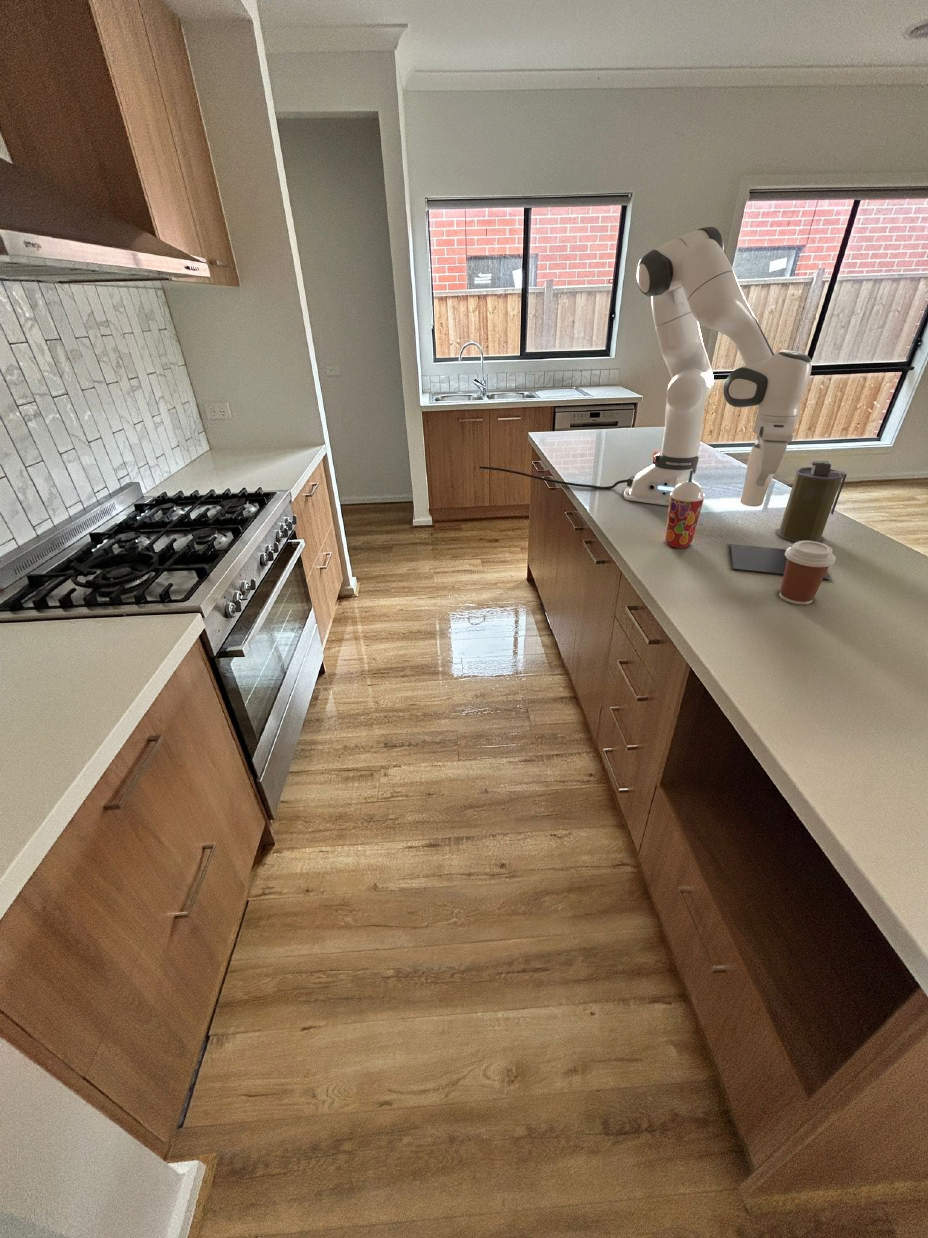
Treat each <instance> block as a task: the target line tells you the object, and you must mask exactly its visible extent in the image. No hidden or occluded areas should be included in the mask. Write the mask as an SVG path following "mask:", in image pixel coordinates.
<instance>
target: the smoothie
mask: <svg viewBox="0 0 928 1238" xmlns="http://www.w3.org/2000/svg"><path fill="white" fill-rule="evenodd" d="M692 474H693V470H690V476H689V481H684V482H681V483H679V484H678V485H677V486H676V487H675V488H674V489H673V491H672V492H671V493H670V500H669V506H668V510H667V511H668V512H667V519H666V527H665V528H666V529H665V537H664V538H665V540H666V544H667V545H668V546H670V547H672V548H676V549H682V548H683V549H685V548H687V547H689V546H690V544H691V543H692V542H693V540H694V537H695V533H696V528H697V525H698V522H699V518H700V515H701V511H702V508H703V503H704V501H705V498H706V496H705V493H704V491H703V488H702V486H701V485H700V484H699V483H698V482H696V481H695V480H694V481H691V480H692Z"/></svg>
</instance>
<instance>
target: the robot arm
mask: <svg viewBox="0 0 928 1238" xmlns="http://www.w3.org/2000/svg"><path fill="white" fill-rule="evenodd" d="M723 239H724V238H723V236H722V234H721V232H720V230H719V229H718V228H717V227H715V226H705V227H704V226H703V227H701V228H698V229H697V230H695V231H691V232H688V233H685V234H682V235H679V236H677V237H675V238H674V239H672V240H670V241H668V242H666V243H664V244H663V245H660V246H659V247H658V248H656V249H651V250H650V251H648V252H647V253H645V254H644V255H643V256H642V257H641V258H640V259H639V261H638V264H637V267H636V272H635V273H636V274H635V276H636V282H637V283H636V284H637V287H638V289H639V291H640V292H641V293H642V294H643V295H644V296H646V297H649V298H651V311H652V318H653V324H654V328H655V333H656V336H657V341H658V346H659V349H660V354H661V357H662V359H663V360H664V363H665V365H666V367H667V371H668V373H669V376H670V378H671V380H670V382H669V383H668V386H667V389H666V399H665V413H664V430H663V436H662V437H663V438H662V444H661V451H658V450H654V451H653V453H652V464H650V465H648V466H647V467H646V468H644V469H642V470H640V471H639V472H637V474H636V475H631V476H629V477H628V478H627V479H621V480H618V481H616V482H615V483H613V484H612V485H609V486H599V485H593V484H584V483H583V484H582V483H575V482H569V481H563V480H558V479H552V478H547V477H542V476H538V475H535V474H531V473H526V472H522V471H517V470H513V469H512V470H511V469H508V468H501V467H494V466H482V465H479V467H478V468H479V469H482V470H490V471H491V470H492V471H499V472H506V473H511V474H515V475H516V474H517V475H519V476H525V477H529V478H532V479H535V480H536V479H537V480H540V481H545V482H550V483H555V484H561V485H566V486H572V487H580V488H589V489H590V488H591V489H596V490H611V489H614V488H616V487H617V486H618V485H620V484H625V483H626V487H625V489H624V491H623V498H624V499H625V500H626V501H632V502H638V503H646V504H652V505H659V506H660V505H661V506H668V507H669V500H670V493H671V492H672V491H673V489H674V488H675V487H676V486H677V485H678V484H679V483H681V482H684V481H689V476H690V470H693V474H692V480H691V481H694V482H695V475H696V473H697V470H698V467H699V461H700V454H699V451H700V446H701V439H702V435H703V431H704V420H705V419H704V418H705V411H706V409H705V408H706V403H707V399H708V397H709V396H710V395H711V393H712V392H713V389H714V385H715V379H714V374H713V370H712V367H711V364H710V363H711V362H710V360H709V356H708V353H707V350H706V347H705V344H704V342H703V337H702V332H701V328H700V326H702V327H704V328H705V329H710V330H712V331H716V332H718V333H720V334H722V335H725V336H726V337H727V338H729V339H730V340H731V341H732V342H733V343H734V345H735V347H736V349H737V350H738V353H739V355H740V357H741V358H742V361H743V363H744V365H743V366H740V367H737V368H736V369H734V370H733V371H731V372H730V373H729V374H728V376H727V377H726V379H725V381H724V384H723V389H722V391H723V397H724V399H725V402H727V404H728V405H729V406H731V407H734V408H740V409H741V408H748V407H757V413H756V417H755V421H754V424H753V428H752V433H754V434H755V435H756V437H755V442H754V444H759V446H758V448H759V449H763V450H761V453H760V456H759V459H758V463H757V465H758V468H759V472H760V473H759V476H758V478H757V481H756V485H757V486H764V485H765V481H766V479H767V477H768V475H769V474H774V475H775V474H777V472H778V471H779V469H780V467H781V464H782V462H783V459H784V457H785V455H786V450H787V448H788V445H789V443H791V442H792V441H793V439H794V436H795V429H796V424H797V422H798V418H799V415H800V406H801V403H802V401H803V399H804V397H805V395H806V392H807V390H808V385H809V382H810V377H811V374H812V366H813V364H812V359H811V358H810V356H809V355H808V354H806V353H803V352H800V351H795V350H781V351H777V352H776V353H775V352H774V351H773V348H772V346H771V345H770V343H769V340H768V339H767V337H766V335H765V333H764V330H763V329H762V327H761V325H760V323H759V320H758V319H757V317H756V316H755V313H754V312H753V310H752V309H751V307H750V305H749V303H748V302H747V299H746V297H745V295H744V293H743V291H742V289H741V287H740V284H739V282H738V278H737V276H736V273H735V272H734V269H733V267H732V265H731V262H730V260H729V259H728V257H727V255H726V254H725V252H724V248H725V244H724V240H723Z"/></svg>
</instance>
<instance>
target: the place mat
mask: <svg viewBox="0 0 928 1238" xmlns="http://www.w3.org/2000/svg"><path fill="white" fill-rule="evenodd" d="M729 548H730V556H731V563H732V570H733V571H741V572H749V573H757V574H758V573H759V574H768V575H776V576H783V575H784V571H785V566H786V562H787V558H786V556H785V552H786V550H787V549H784V548H783V549H782V548H775V547H764V546H754V545H753V546H752V545H742V544H734V543H733V544H729ZM829 580H830V579H829V576H828V574H827V573H826V574H825V576H824V578H823V580H822V581H829Z"/></svg>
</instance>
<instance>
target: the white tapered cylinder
mask: <svg viewBox="0 0 928 1238" xmlns="http://www.w3.org/2000/svg"><path fill="white" fill-rule="evenodd" d="M758 446H759V444H755V443H754V444H753V445H752V447H751V449H750V453H749V456H748V460H747V465H746V470H745V477H744V482H743V488H742V492H741V497H740V503H741V504H742V505H743V506H746V507H751V508H752V507H754V508H755V507H760V506H762V505H763V503H764V500H765V497H766V495H767V492H768V490H769V486H770V484H771V482H772V479H773V477H774V475H775V474H769V475H768V477H767V479H766V481H765V485H764V486H757V485H756V481H757V478H758V476H759V473H760V472H759V468H758V465H757V463H758V459H759V456H760V453H761V450H763V449H759V448H758Z"/></svg>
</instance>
